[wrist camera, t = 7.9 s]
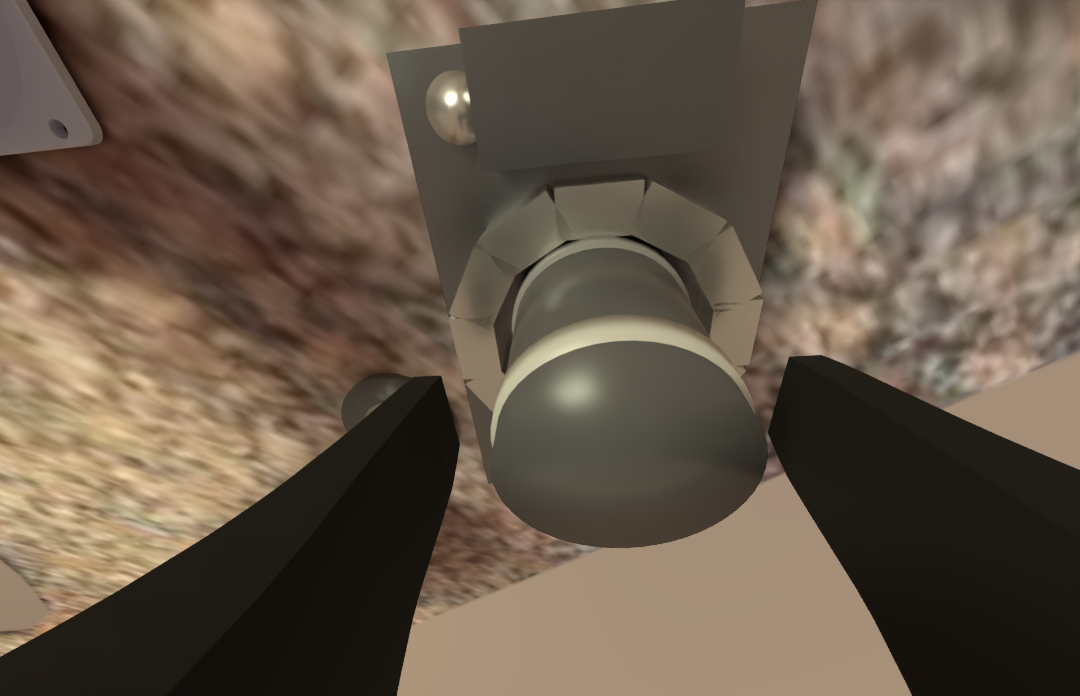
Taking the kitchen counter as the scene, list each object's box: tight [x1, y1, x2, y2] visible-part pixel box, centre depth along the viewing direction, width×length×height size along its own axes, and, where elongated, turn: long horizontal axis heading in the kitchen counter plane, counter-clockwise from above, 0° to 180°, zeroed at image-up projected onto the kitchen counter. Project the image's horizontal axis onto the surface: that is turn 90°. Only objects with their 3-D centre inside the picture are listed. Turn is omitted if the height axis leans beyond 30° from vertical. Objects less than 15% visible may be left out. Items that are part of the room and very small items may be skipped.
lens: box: [490, 235, 768, 548], centre depth 9 cm, size 5×5×6 cm
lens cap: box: [342, 374, 454, 432], centre depth 18 cm, size 5×5×1 cm
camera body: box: [386, 0, 818, 483], centre depth 12 cm, size 9×14×5 cm, turn 5°
